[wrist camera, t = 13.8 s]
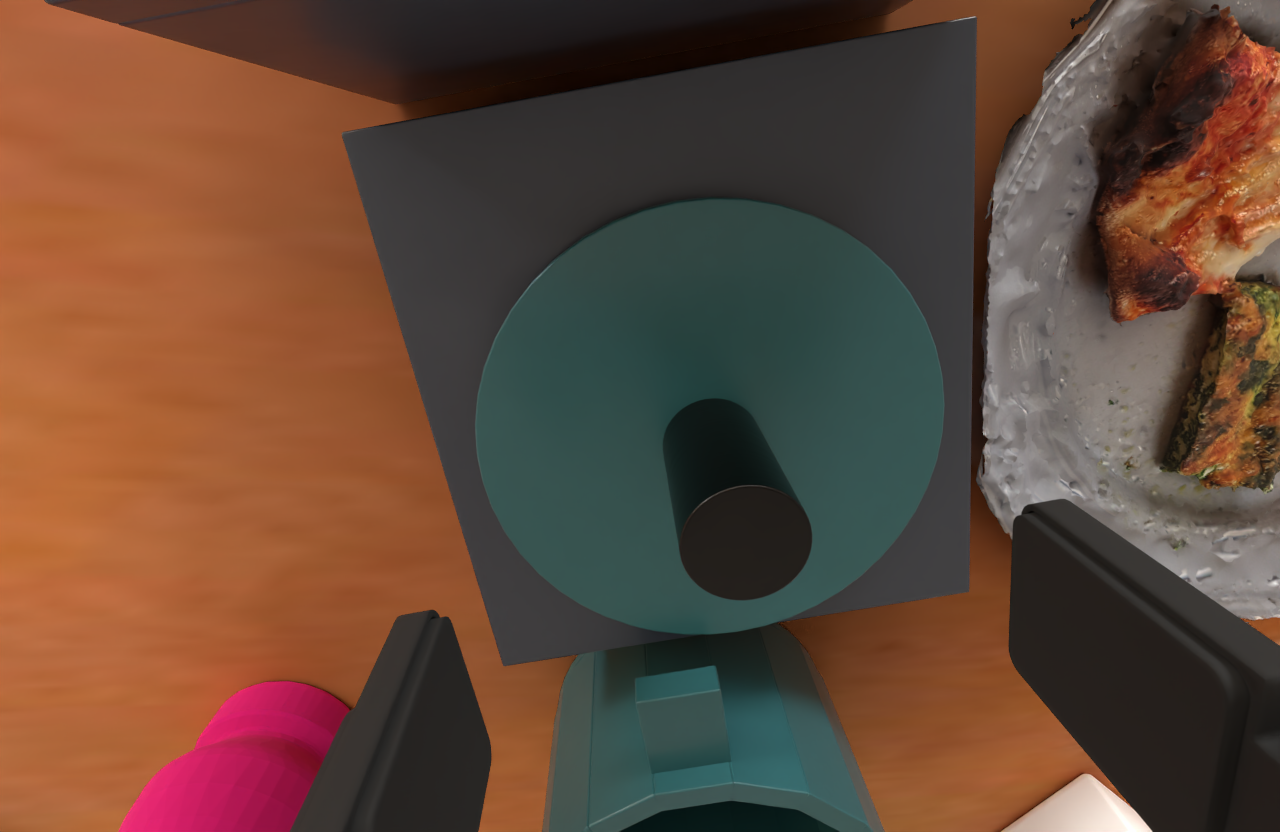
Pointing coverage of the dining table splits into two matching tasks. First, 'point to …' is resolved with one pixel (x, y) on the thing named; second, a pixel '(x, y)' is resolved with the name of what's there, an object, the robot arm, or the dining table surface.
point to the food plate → (1146, 293)
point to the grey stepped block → (629, 201)
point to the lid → (709, 415)
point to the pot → (703, 741)
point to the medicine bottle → (1081, 811)
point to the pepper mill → (244, 764)
